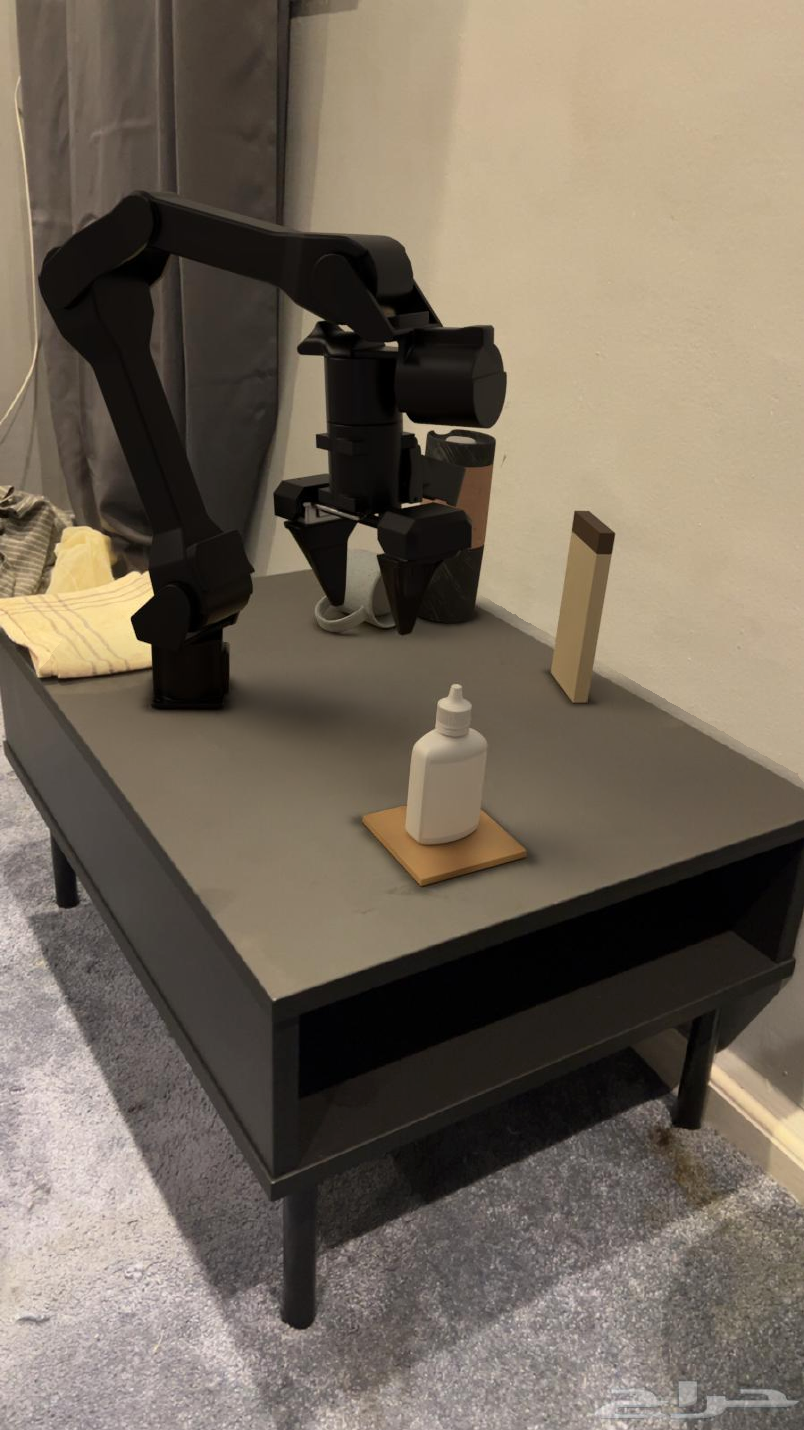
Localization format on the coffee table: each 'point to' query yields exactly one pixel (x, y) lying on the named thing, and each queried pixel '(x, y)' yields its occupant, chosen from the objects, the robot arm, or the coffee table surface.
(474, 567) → the travel mug
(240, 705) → the coffee table surface
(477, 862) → the cork coaster mat
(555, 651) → the tall wooden plank
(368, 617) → the ceramic mug
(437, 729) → the eye dropper bottle
